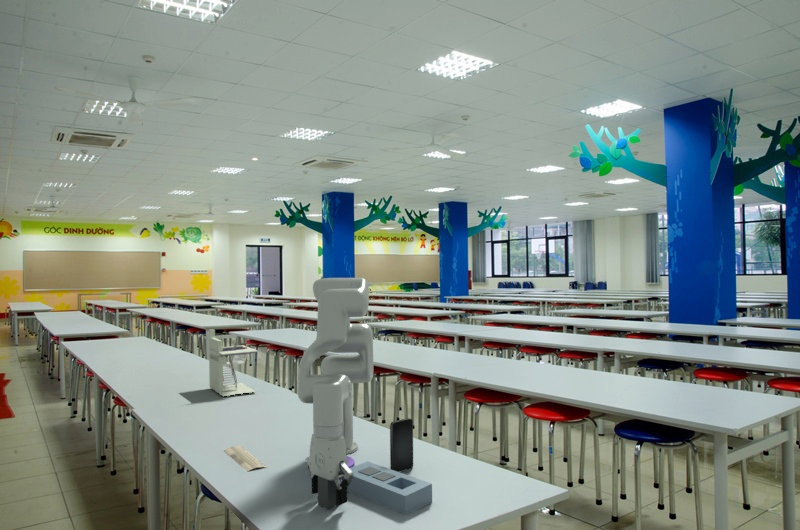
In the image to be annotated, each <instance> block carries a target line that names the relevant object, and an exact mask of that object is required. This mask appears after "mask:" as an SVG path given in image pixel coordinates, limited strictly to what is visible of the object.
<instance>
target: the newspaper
mask: <svg viewBox="0 0 800 530" xmlns="http://www.w3.org/2000/svg"><path fill="white" fill-rule="evenodd" d="M223 451H224V452H225V453H226V454H227V455H228V456H229V457H230V458H231V459H232V460H234V461H235V463H237V464H238V465H239V466H240V467H241V468H242V469H244V470H245V471H246V472H250V471H251V470H253V469H258V468H262V469H263V468H266V466H265V465H264V464H263V463H262V462H260V460H258V459H257V458H256V457H255V456H254V455H252V454H251V453H250V452H249V451H247V450H246V449H245V448H244V447H243V446H238V445H236V446H235V445H233V446H230V447H227V448H225V449H223Z"/></svg>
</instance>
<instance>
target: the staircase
mask: <svg viewBox="0 0 800 530" xmlns="http://www.w3.org/2000/svg"><path fill="white" fill-rule="evenodd" d="M215 335H216V330H215V329H208V346H209V347H208V355H209V356H208V358H209V360H208V361H209V364H208V365H209V366H208V369H209V377H208V378H209V388H210V389H211V390H213V391H214V390H215V391H214V392H216V393H217V394H218V393H219V394H218V395H220V396H221V395H222V396H223V398H225V397H224V396H227V397H231V396H230V395H234V396H236V395H235V394H241V395H244V394H243V393H249V394H253V393H252V392H256V393H257V390H254V389H253V388H251V387H249V386H247V385H246V384H245V383H242V382H237V381H238V380H237V378H238V377H237V376H236V375H237V374H236V370H235V367H234V366H235V365H236V366H237V365H245V364H246V361H247V357H248V355H250V354H255V353H257V352H259V350H257V349H256V348H255V349H254V348H252V347H249V346H248V344H249V343H250V339H249V338H248V339H247V341H246V343H245V345H237V340H235V341H234V343H233V345H232V346H231V345H230V346H223V344H224V343H223V342H224V341H223V340H221V339H220V338H217V337H216V336H215ZM226 356H229V361H228V358H227V357H226ZM222 396H221V397H222Z"/></svg>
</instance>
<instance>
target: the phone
mask: <svg viewBox="0 0 800 530" xmlns="http://www.w3.org/2000/svg"><path fill="white" fill-rule="evenodd" d="M413 426H414V422H413V419H412V418H409V417H406V418H403V419H399V420H394V421H391V423H389V451H390V452H389V453H390V455H389V456H390V457H389V460H390V461H389V462H390V463H389V464H390V466H389V467H390V468H389V469H391V470H394V471H397V472H400V473H402V472H404V471H407V470H411V469H413V467H414V427H413Z"/></svg>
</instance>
